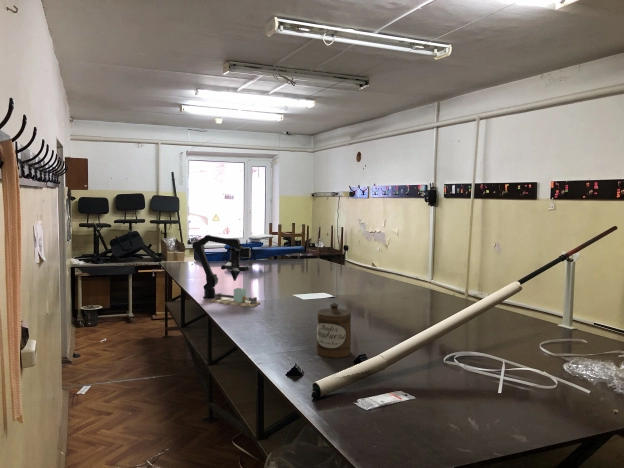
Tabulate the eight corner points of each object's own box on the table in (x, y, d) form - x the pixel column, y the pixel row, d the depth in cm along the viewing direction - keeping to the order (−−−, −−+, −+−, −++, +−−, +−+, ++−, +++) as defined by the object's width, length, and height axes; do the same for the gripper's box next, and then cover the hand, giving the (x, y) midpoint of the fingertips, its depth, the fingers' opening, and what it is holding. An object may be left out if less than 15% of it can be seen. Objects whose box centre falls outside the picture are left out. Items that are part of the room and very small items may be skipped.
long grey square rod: (215, 297, 311) (215, 293, 310) (218, 296, 313) (218, 292, 313) (253, 301, 299) (253, 298, 299) (255, 301, 301) (255, 297, 301)
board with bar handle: (211, 301, 307) (211, 294, 307) (221, 298, 317) (221, 291, 317) (251, 307, 295) (251, 299, 294) (260, 303, 305) (260, 296, 304)
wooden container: (311, 355, 206) (312, 304, 204) (323, 345, 220) (324, 298, 218) (344, 360, 201) (345, 308, 199) (354, 349, 215) (355, 301, 213)
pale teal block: (233, 301, 303) (233, 289, 303) (238, 299, 308) (238, 287, 307) (241, 302, 301) (241, 290, 300) (245, 300, 306) (246, 288, 305)
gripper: (216, 257, 314) (215, 281, 315) (239, 259, 306) (239, 283, 307) (226, 256, 324) (225, 278, 325) (249, 257, 316) (249, 281, 317)
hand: (234, 280), depth 318 cm, fingers closed
